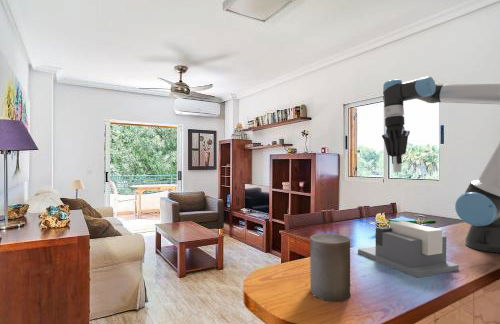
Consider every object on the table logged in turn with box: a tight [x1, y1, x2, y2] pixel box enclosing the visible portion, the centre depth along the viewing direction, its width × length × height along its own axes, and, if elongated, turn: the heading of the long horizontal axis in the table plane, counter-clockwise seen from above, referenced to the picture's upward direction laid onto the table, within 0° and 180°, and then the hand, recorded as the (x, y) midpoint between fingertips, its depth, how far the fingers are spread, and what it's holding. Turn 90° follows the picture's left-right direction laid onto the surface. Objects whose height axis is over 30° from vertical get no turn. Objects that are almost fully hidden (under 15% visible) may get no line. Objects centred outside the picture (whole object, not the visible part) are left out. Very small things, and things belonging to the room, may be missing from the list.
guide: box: [357, 226, 460, 278], centre depth 100 cm, size 24×17×10 cm
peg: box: [389, 220, 443, 255], centre depth 96 cm, size 14×6×7 cm, turn 21°
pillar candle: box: [309, 232, 351, 302], centre depth 75 cm, size 10×10×15 cm
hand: (397, 171), depth 130 cm, fingers closed
